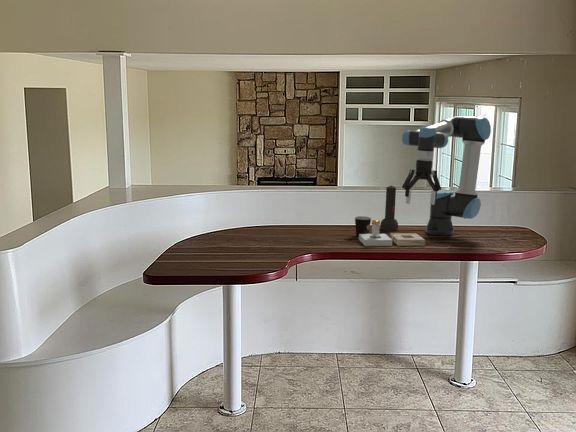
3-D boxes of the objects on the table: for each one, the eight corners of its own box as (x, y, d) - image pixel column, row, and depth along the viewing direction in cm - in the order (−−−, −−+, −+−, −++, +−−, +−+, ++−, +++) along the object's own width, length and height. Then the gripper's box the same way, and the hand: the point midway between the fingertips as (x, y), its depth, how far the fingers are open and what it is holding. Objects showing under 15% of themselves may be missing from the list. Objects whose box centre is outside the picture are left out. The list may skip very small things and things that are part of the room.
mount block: (358, 239, 334) (358, 233, 333) (384, 239, 336) (385, 233, 335) (364, 246, 320) (365, 240, 320) (392, 245, 322) (392, 240, 321)
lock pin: (370, 241, 330) (371, 219, 327) (377, 241, 330) (378, 219, 328) (372, 243, 326) (373, 221, 324) (379, 243, 326) (380, 221, 324)
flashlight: (376, 228, 362) (387, 231, 353) (378, 184, 357) (390, 187, 348) (390, 226, 367) (401, 230, 358) (392, 183, 362) (404, 186, 353)
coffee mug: (360, 238, 336) (360, 220, 334) (351, 235, 344) (351, 217, 342) (378, 236, 341) (378, 218, 339) (368, 233, 349) (369, 215, 347)
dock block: (390, 239, 336) (390, 233, 335) (415, 238, 338) (416, 233, 337) (397, 245, 322) (398, 239, 322) (424, 245, 324) (424, 239, 323)
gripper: (405, 159, 296) (401, 204, 299) (451, 161, 304) (446, 205, 307) (397, 158, 303) (393, 202, 306) (442, 160, 311) (437, 203, 314)
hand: (420, 204), depth 306 cm, fingers open, 13 cm apart
